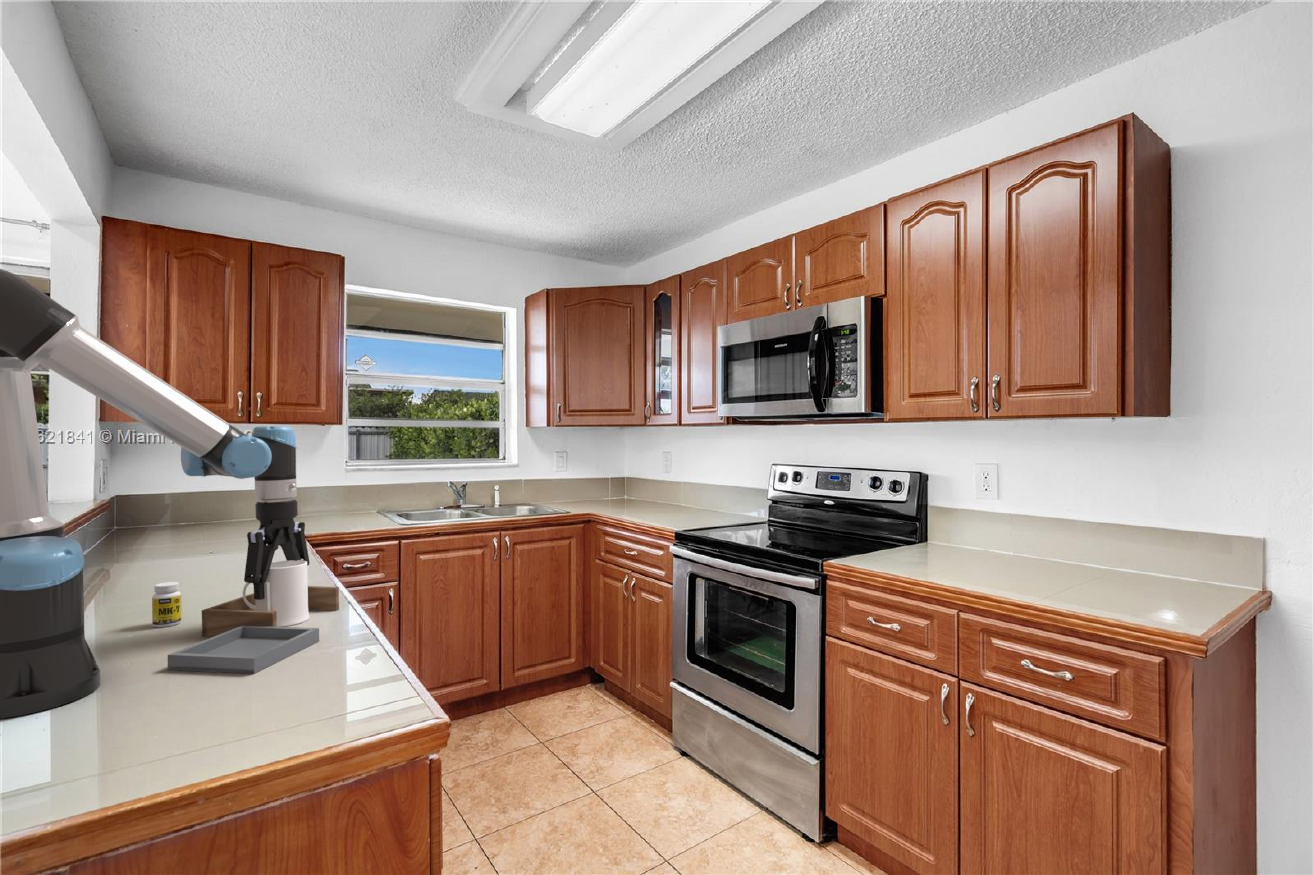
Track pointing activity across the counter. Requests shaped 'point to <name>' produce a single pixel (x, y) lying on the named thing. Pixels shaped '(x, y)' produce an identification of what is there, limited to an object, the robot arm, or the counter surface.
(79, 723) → the counter surface
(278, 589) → the mug
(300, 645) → the tray
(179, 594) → the supplement bottle
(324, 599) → the bay
